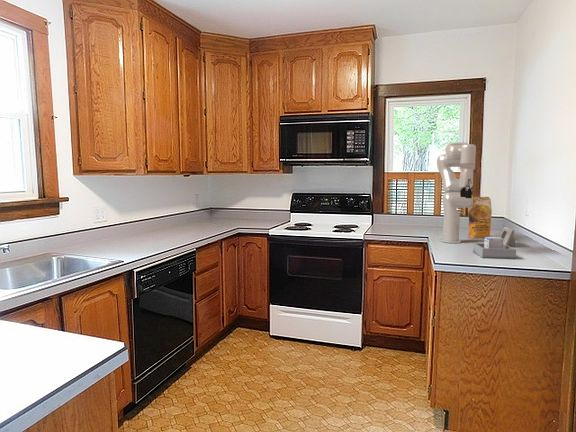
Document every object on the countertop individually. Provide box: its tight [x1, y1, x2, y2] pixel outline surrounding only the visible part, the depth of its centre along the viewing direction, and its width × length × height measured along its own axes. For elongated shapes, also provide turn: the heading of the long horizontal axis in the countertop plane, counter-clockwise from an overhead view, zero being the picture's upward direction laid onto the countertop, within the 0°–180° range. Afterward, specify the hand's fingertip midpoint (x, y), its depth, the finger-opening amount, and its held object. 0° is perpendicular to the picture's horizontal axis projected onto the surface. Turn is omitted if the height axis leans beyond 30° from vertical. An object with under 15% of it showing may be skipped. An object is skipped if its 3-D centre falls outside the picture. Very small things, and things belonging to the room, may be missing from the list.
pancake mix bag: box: [467, 196, 493, 239], centre depth 264 cm, size 7×19×28 cm, turn 97°
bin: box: [472, 242, 517, 260], centre depth 206 cm, size 16×16×5 cm
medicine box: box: [483, 236, 503, 249], centre depth 206 cm, size 8×4×9 cm, turn 93°
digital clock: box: [499, 226, 516, 248], centre depth 236 cm, size 16×9×11 cm, turn 152°
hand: (465, 197), depth 218 cm, fingers open, 9 cm apart
